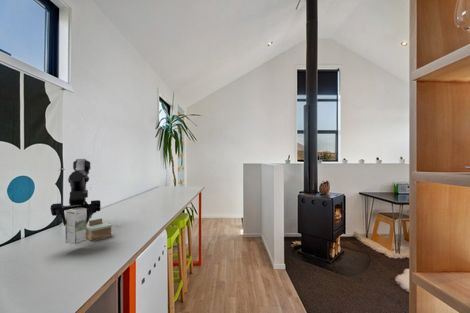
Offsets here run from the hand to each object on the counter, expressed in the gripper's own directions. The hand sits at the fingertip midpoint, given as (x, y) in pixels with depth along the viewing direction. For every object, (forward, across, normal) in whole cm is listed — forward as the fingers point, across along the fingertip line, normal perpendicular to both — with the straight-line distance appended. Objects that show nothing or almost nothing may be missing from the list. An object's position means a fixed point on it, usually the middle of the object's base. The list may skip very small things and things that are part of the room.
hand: (76, 223), depth 104 cm
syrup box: (+5, 0, +7) cm, 9 cm away
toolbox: (-4, +8, +21) cm, 22 cm away
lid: (-7, +8, +17) cm, 20 cm away
